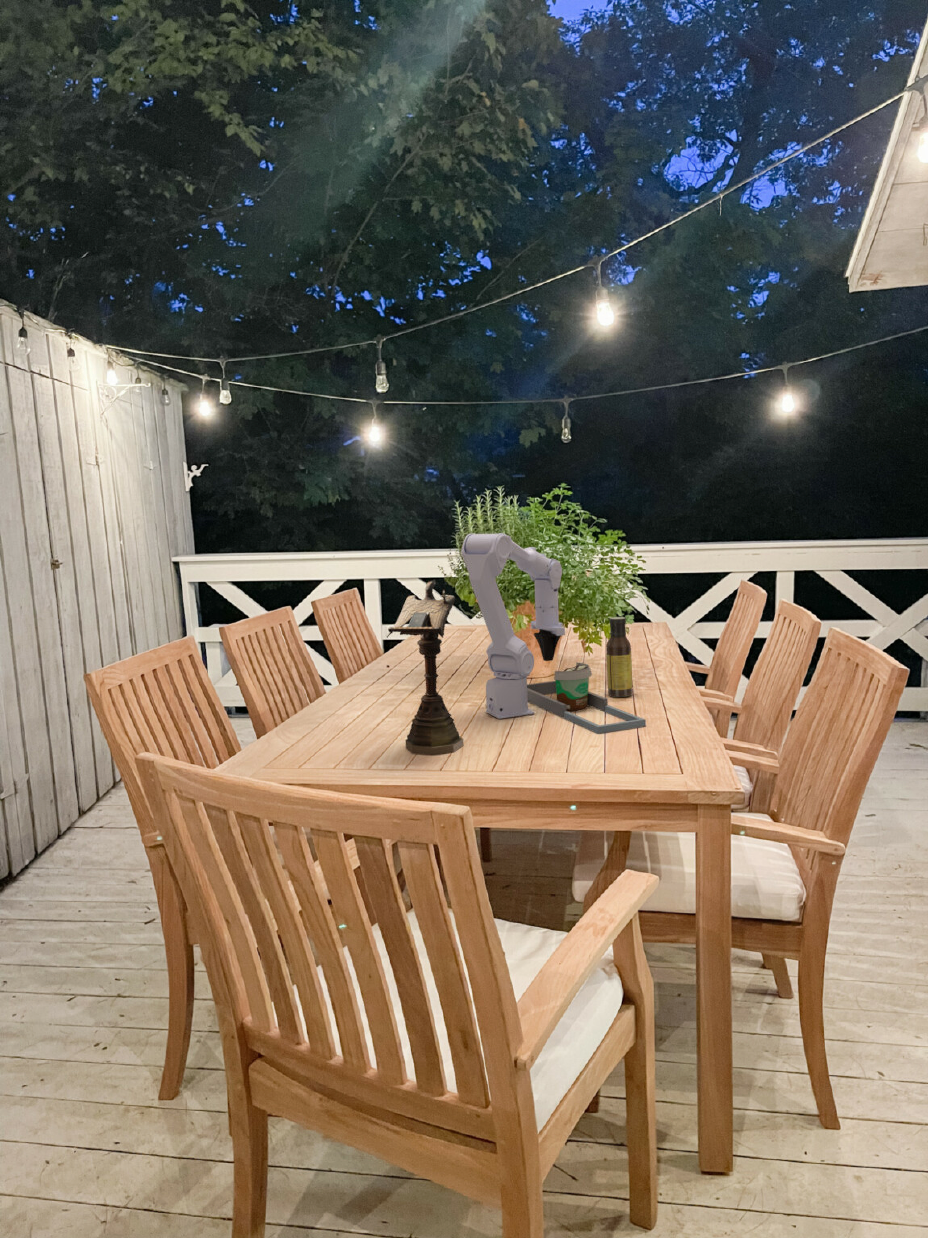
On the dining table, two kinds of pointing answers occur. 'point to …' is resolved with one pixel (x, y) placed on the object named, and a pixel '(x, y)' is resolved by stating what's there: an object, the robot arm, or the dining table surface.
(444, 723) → the book lectern
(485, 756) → the dining table surface
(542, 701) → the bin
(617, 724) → the frame
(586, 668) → the food container
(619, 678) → the sauce bottle
